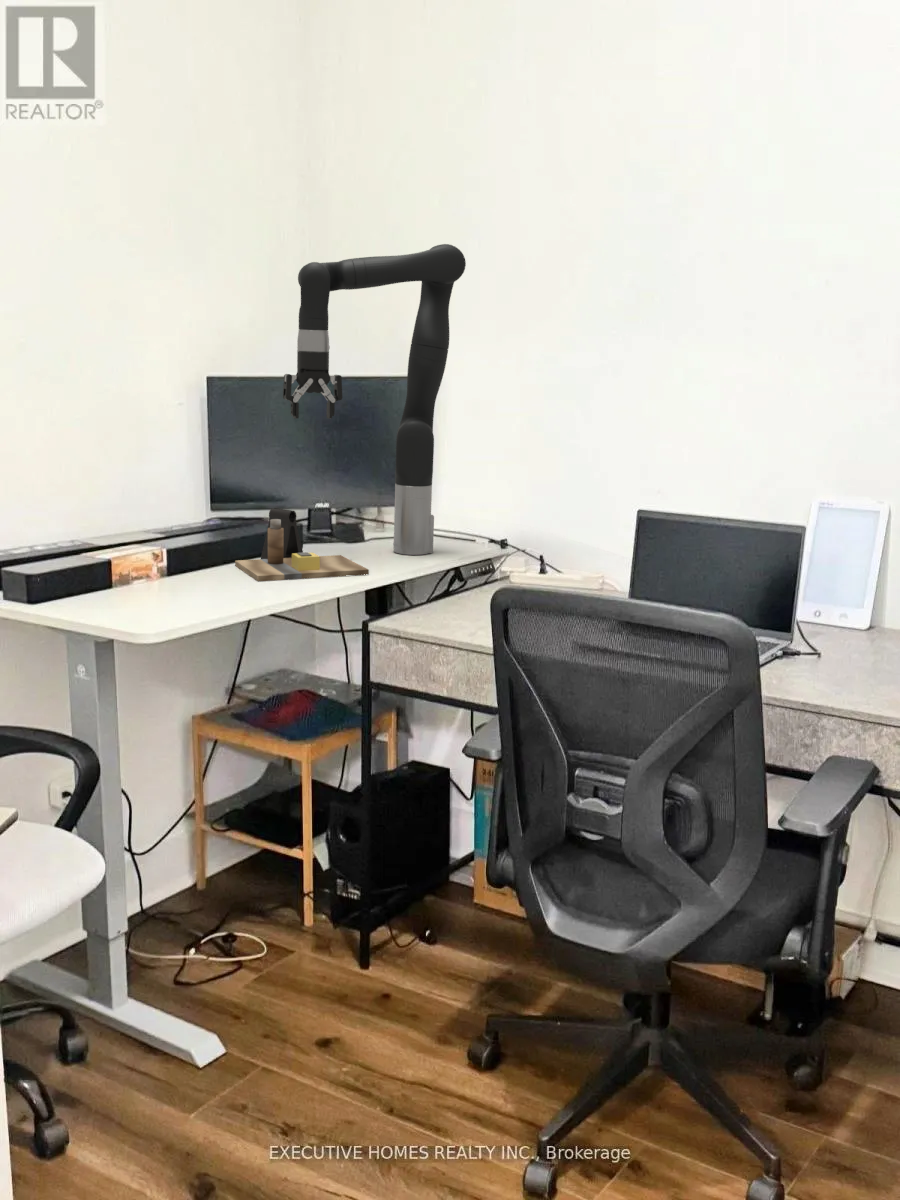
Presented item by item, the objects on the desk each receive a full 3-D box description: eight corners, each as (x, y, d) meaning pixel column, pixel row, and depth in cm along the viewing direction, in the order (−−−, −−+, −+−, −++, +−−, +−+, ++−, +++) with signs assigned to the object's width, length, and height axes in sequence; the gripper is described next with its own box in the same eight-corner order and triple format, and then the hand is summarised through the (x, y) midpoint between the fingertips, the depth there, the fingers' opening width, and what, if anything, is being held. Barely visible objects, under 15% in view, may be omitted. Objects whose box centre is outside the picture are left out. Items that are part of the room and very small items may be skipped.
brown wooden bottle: (280, 560, 272) (280, 518, 269) (285, 563, 268) (285, 520, 266) (265, 561, 270) (265, 519, 268) (270, 564, 267) (270, 521, 265)
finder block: (312, 565, 268) (312, 551, 267) (319, 569, 263) (319, 555, 263) (291, 566, 266) (291, 552, 265) (298, 570, 261) (298, 556, 261)
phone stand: (279, 563, 275) (280, 513, 272) (260, 560, 278) (260, 510, 275) (304, 558, 282) (304, 508, 280) (284, 554, 286) (285, 506, 283)
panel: (340, 560, 282) (340, 555, 281) (368, 574, 266) (368, 569, 266) (235, 565, 270) (235, 560, 270) (257, 581, 255) (257, 575, 254)
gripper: (335, 350, 284) (334, 417, 288) (279, 348, 278) (279, 417, 281) (346, 351, 277) (345, 419, 281) (289, 349, 271) (289, 419, 275)
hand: (312, 418), depth 281 cm, fingers open, 8 cm apart
